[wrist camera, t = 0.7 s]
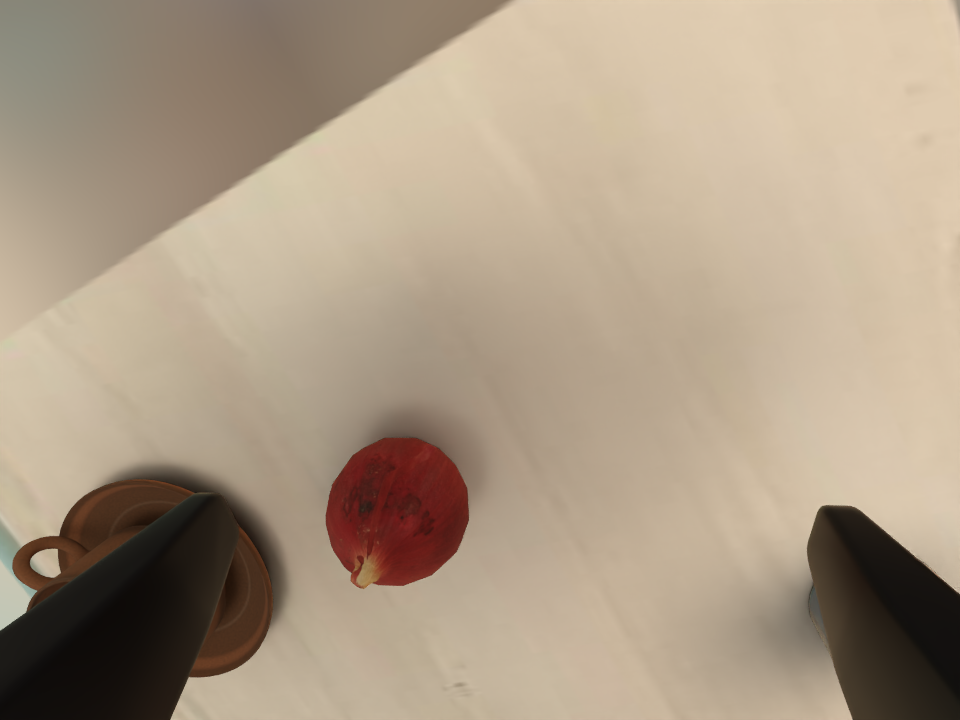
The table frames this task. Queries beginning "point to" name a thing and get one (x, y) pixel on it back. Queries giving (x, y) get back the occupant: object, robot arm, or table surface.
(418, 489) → the onion
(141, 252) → the table surface
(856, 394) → the table surface
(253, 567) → the cup and saucer
